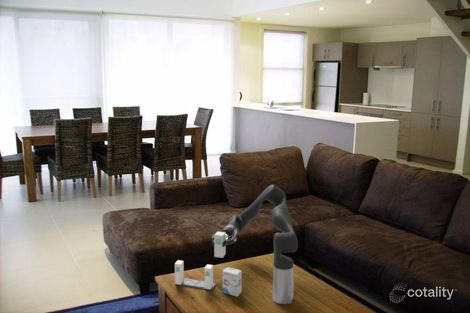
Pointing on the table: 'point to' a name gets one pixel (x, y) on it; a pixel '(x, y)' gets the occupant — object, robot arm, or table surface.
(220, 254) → the white tall block
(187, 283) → the rail
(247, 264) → the table surface
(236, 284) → the ink box
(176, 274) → the mounted modules
